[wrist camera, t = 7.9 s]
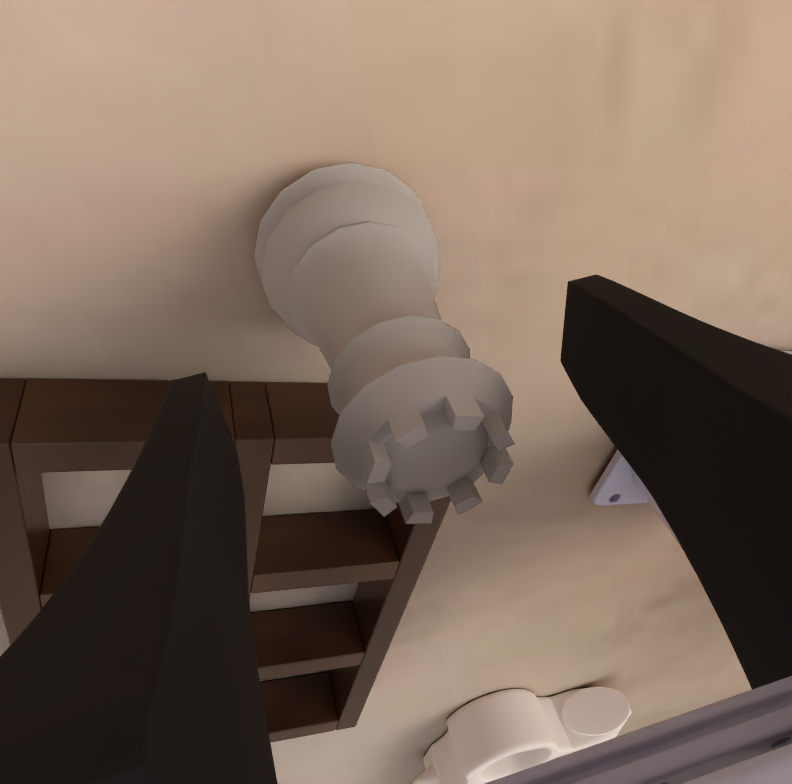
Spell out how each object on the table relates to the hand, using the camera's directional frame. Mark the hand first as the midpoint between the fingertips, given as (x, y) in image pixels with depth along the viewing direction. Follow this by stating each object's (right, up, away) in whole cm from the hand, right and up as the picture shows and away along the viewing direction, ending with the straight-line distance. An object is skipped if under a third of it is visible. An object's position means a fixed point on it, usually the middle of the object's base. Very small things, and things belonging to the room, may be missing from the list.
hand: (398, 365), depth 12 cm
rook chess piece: (-1, +3, +4) cm, 5 cm away
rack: (-6, -8, +11) cm, 15 cm away
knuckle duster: (+8, -25, +32) cm, 41 cm away
